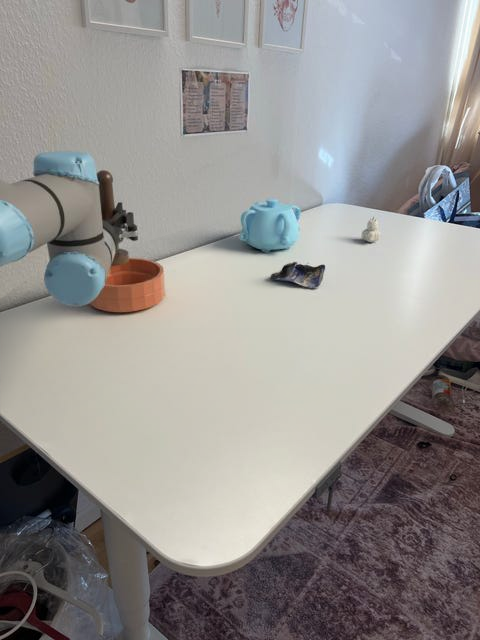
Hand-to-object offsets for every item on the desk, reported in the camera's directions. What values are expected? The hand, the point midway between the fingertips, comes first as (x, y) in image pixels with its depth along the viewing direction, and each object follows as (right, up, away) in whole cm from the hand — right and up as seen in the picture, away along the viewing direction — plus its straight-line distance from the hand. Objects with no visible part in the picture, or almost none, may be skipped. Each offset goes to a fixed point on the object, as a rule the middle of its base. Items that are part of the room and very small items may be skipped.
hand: (111, 209), depth 97 cm
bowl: (+1, -18, +9) cm, 20 cm away
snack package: (+40, -13, +20) cm, 46 cm away
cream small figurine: (+65, +1, +49) cm, 82 cm away
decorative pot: (+35, -1, +43) cm, 56 cm away
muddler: (0, -11, -1) cm, 11 cm away
